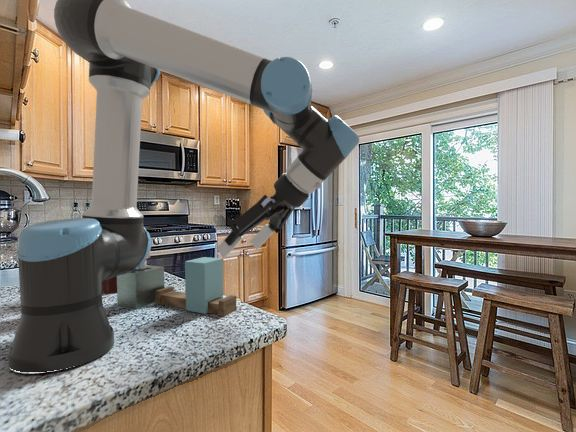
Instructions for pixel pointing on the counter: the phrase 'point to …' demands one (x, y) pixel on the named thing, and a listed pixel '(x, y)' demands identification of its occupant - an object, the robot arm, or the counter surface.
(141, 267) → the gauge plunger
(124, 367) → the counter surface
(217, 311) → the rail
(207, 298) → the carriage
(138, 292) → the grey button housing
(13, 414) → the counter surface
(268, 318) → the counter surface
